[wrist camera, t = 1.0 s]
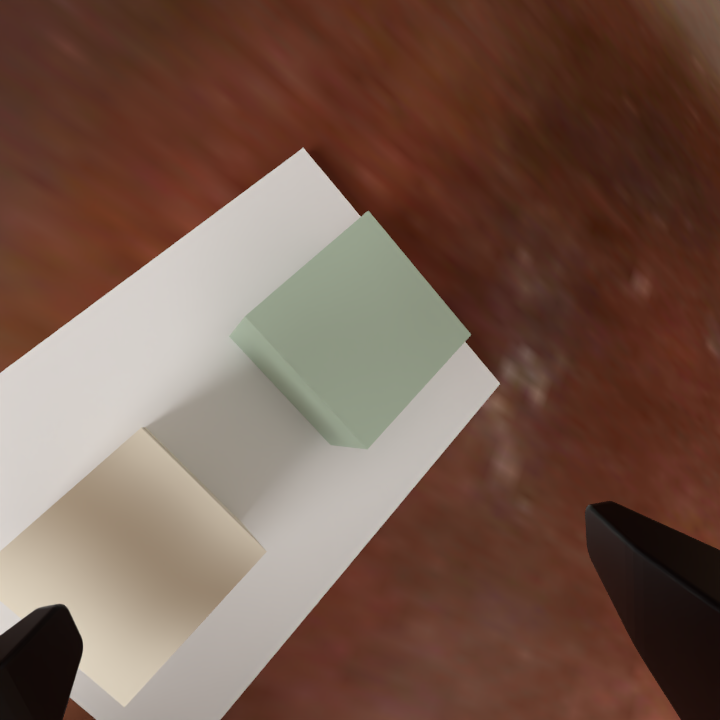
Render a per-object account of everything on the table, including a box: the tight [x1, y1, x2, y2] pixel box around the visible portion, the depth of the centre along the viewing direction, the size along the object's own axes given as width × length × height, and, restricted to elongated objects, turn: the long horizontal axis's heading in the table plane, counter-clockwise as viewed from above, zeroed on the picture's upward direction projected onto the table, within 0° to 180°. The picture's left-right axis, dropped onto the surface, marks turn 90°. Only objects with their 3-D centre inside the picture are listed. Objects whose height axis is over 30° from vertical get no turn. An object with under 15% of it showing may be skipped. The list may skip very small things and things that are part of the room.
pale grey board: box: [0, 148, 500, 720], centre depth 20 cm, size 20×14×1 cm
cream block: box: [0, 427, 267, 707], centre depth 16 cm, size 5×5×5 cm
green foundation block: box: [229, 211, 471, 449], centre depth 20 cm, size 6×6×4 cm
